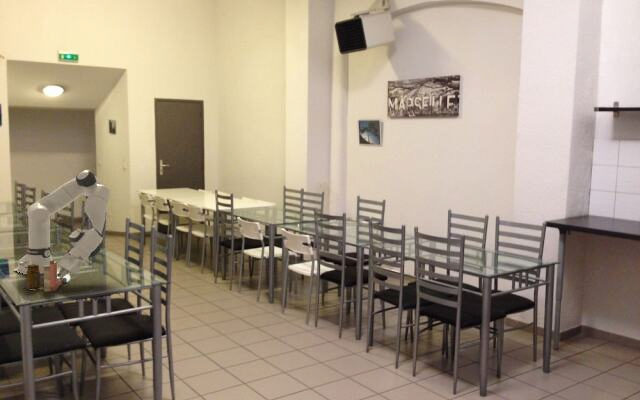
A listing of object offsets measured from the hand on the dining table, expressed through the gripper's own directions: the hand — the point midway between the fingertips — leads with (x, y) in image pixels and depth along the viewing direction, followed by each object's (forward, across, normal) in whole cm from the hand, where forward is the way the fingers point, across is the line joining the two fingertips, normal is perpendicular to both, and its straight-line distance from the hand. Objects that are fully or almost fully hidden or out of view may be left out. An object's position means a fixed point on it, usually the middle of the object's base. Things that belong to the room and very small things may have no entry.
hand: (59, 277), depth 293 cm
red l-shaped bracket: (+5, +4, -4) cm, 8 cm away
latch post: (+8, +2, -1) cm, 8 cm away
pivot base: (+1, +14, -8) cm, 16 cm away
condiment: (+11, +10, +2) cm, 15 cm away
